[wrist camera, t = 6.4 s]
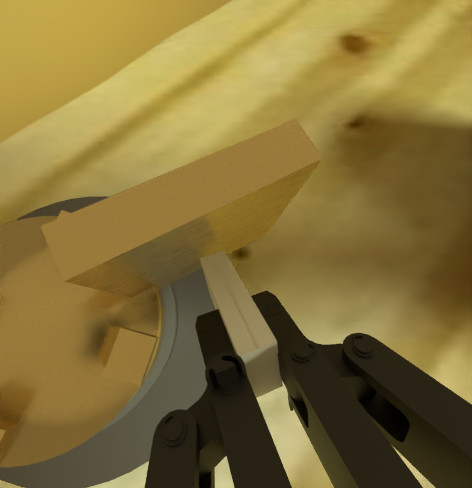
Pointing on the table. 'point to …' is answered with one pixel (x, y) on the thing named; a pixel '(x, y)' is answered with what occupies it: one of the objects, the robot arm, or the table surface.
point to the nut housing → (143, 402)
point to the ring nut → (121, 285)
